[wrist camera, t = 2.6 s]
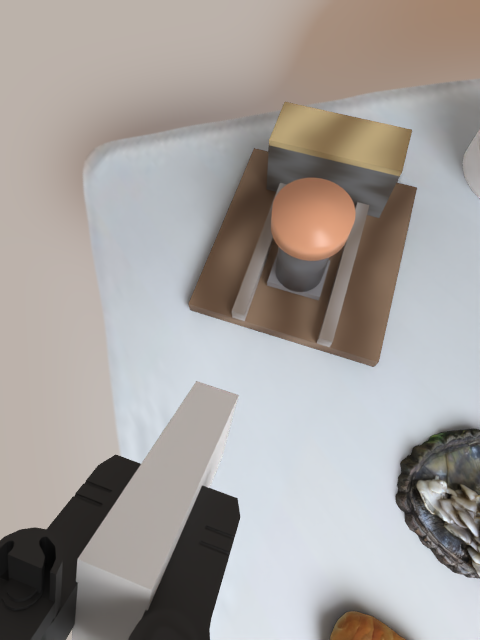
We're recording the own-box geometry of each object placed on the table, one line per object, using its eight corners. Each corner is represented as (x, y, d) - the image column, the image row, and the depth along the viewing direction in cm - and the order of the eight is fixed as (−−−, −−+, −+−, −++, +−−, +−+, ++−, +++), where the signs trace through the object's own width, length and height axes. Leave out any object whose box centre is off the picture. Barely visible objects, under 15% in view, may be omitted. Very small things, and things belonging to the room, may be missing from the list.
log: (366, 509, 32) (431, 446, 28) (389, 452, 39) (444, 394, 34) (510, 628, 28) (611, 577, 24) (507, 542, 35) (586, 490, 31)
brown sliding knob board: (411, 197, 43) (445, 137, 35) (373, 366, 36) (406, 337, 28) (254, 158, 45) (254, 95, 38) (190, 310, 38) (176, 269, 31)
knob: (336, 257, 38) (363, 188, 29) (321, 311, 36) (344, 256, 27) (277, 241, 39) (285, 169, 30) (258, 293, 37) (261, 233, 28)
